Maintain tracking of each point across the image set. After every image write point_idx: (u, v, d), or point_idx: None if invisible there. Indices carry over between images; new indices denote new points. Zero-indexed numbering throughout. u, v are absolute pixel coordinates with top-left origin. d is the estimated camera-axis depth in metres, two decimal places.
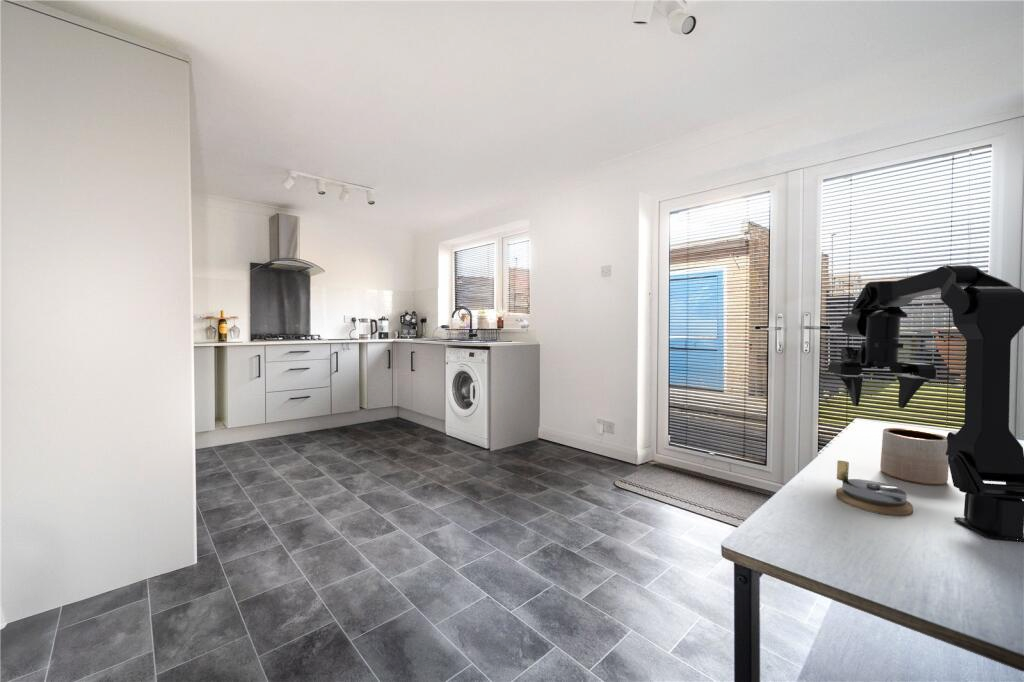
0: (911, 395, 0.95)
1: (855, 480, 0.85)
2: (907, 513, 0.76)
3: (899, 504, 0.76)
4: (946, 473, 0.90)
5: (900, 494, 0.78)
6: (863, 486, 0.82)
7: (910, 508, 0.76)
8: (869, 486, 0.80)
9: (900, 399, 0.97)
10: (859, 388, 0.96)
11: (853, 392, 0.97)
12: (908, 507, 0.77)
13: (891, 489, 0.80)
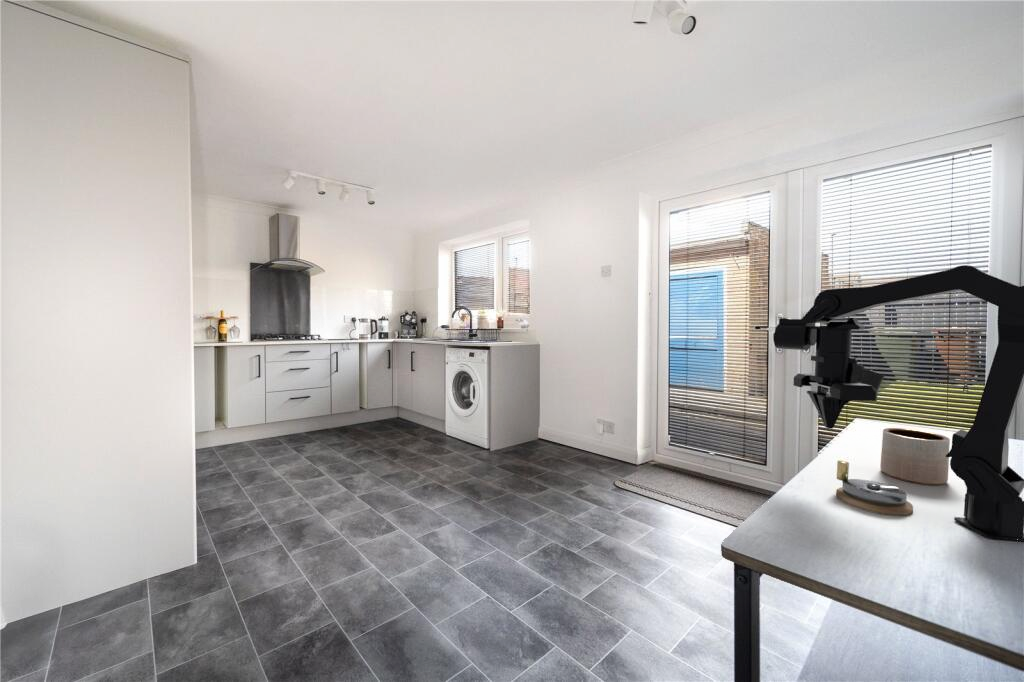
0: (823, 413, 0.87)
1: (855, 480, 0.85)
2: (907, 513, 0.76)
3: (899, 504, 0.76)
4: (946, 473, 0.90)
5: (900, 494, 0.78)
6: (863, 486, 0.82)
7: (910, 508, 0.76)
8: (869, 486, 0.80)
9: None
10: (816, 405, 0.89)
11: None
12: (908, 507, 0.77)
13: (891, 489, 0.80)
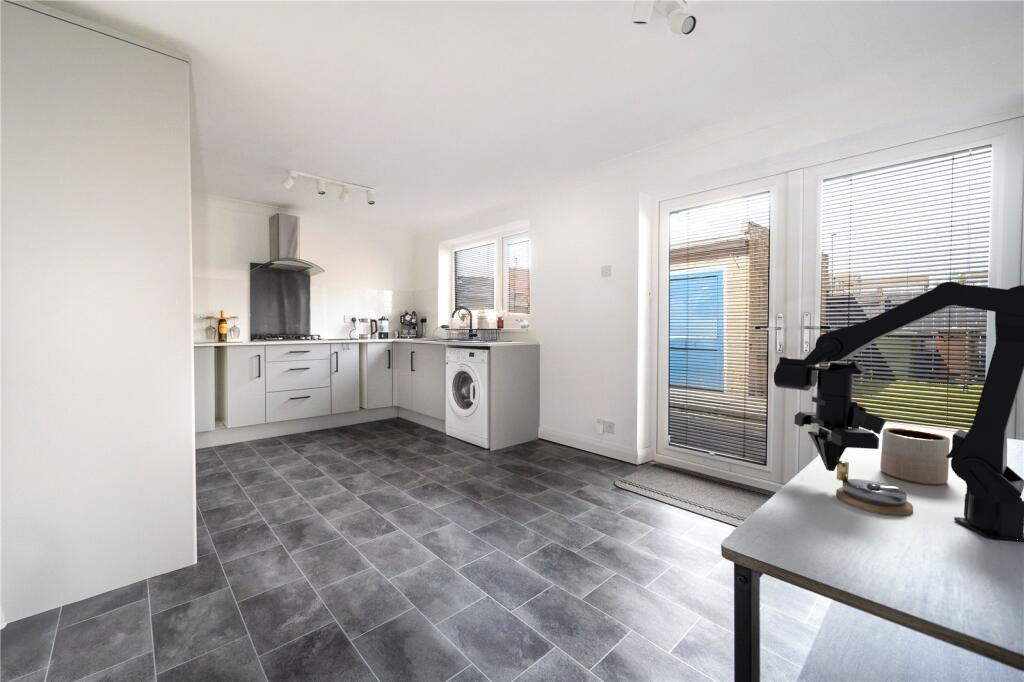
0: (824, 455, 0.87)
1: (855, 480, 0.85)
2: (907, 513, 0.76)
3: (899, 504, 0.76)
4: (946, 473, 0.90)
5: (900, 494, 0.78)
6: (863, 486, 0.82)
7: (910, 508, 0.76)
8: (869, 486, 0.80)
9: None
10: (817, 447, 0.88)
11: None
12: (908, 507, 0.77)
13: (891, 489, 0.80)
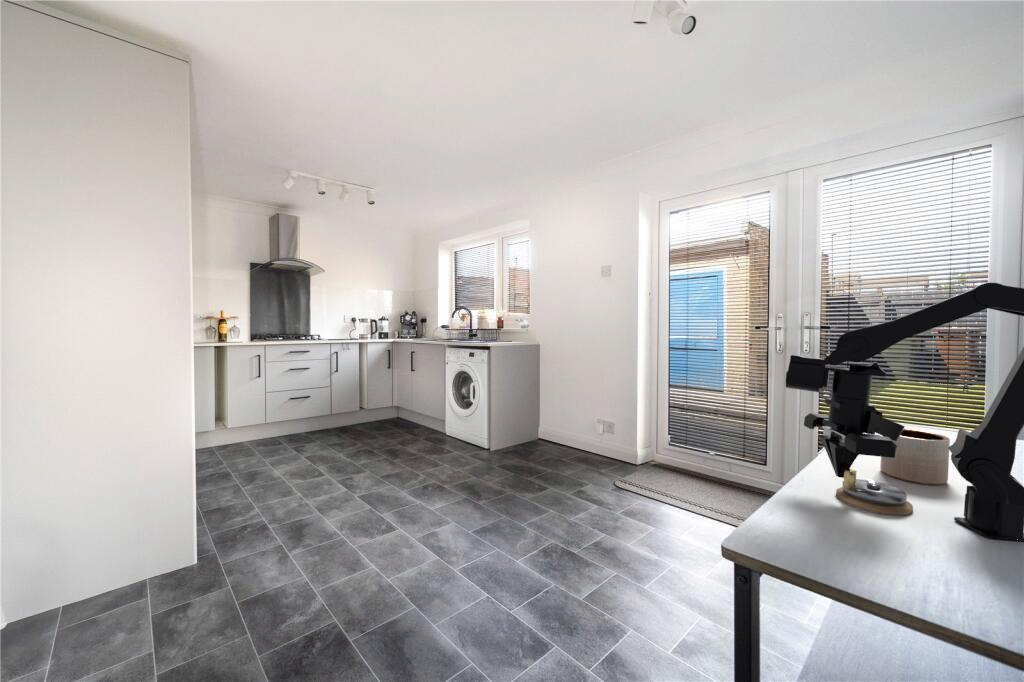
0: (834, 461, 0.82)
1: None
2: (907, 513, 0.76)
3: None
4: (946, 473, 0.90)
5: (887, 486, 0.82)
6: (868, 489, 0.80)
7: (910, 508, 0.76)
8: (876, 488, 0.80)
9: None
10: (828, 452, 0.83)
11: None
12: (908, 507, 0.77)
13: (874, 483, 0.83)
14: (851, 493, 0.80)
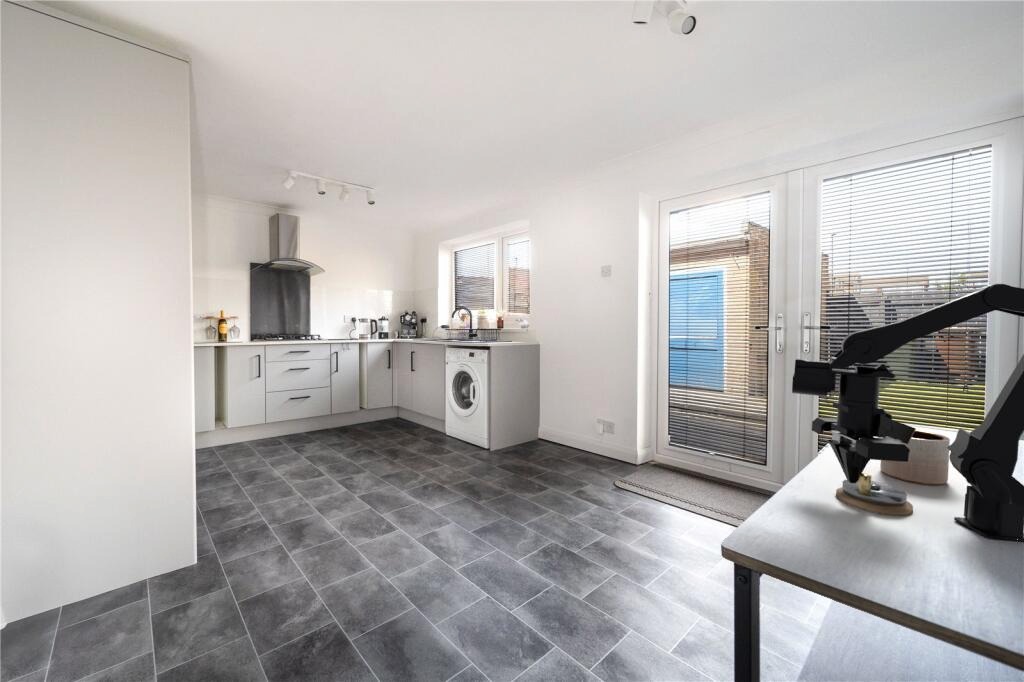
0: (846, 466, 0.79)
1: (854, 488, 0.80)
2: (907, 513, 0.76)
3: None
4: (946, 473, 0.90)
5: (875, 482, 0.83)
6: (874, 490, 0.79)
7: (910, 508, 0.76)
8: (879, 488, 0.80)
9: None
10: (838, 457, 0.81)
11: None
12: (908, 507, 0.77)
13: None
14: (865, 498, 0.78)
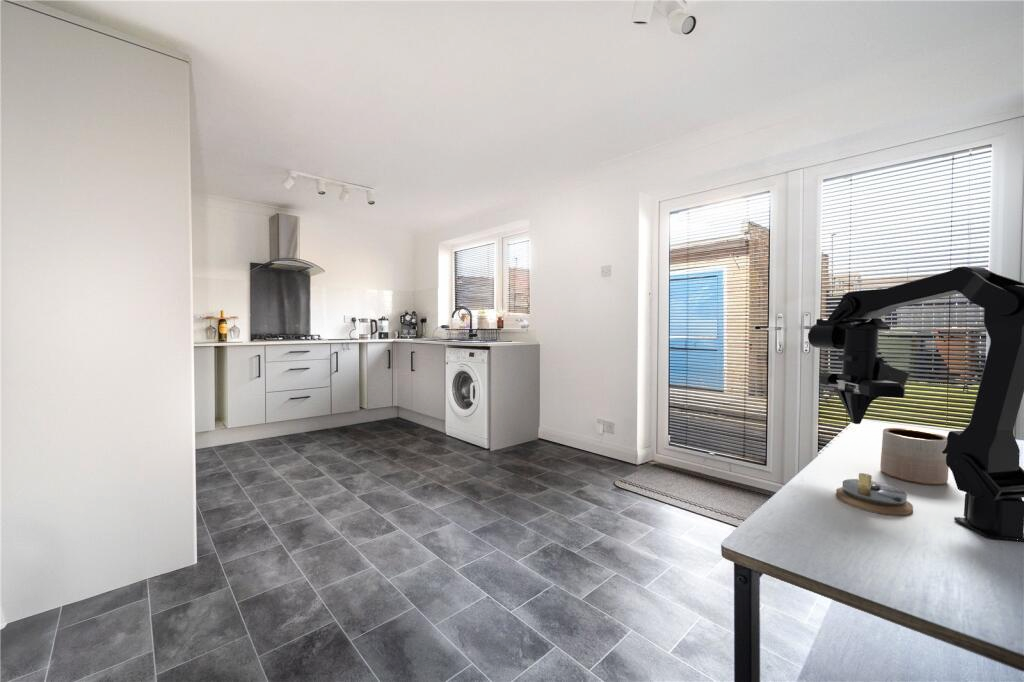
0: (850, 409, 0.92)
1: (854, 488, 0.80)
2: (907, 513, 0.76)
3: None
4: (946, 473, 0.90)
5: (875, 482, 0.83)
6: (874, 490, 0.79)
7: (910, 508, 0.76)
8: (879, 488, 0.80)
9: None
10: (843, 402, 0.93)
11: None
12: (908, 507, 0.77)
13: None
14: (865, 498, 0.78)
